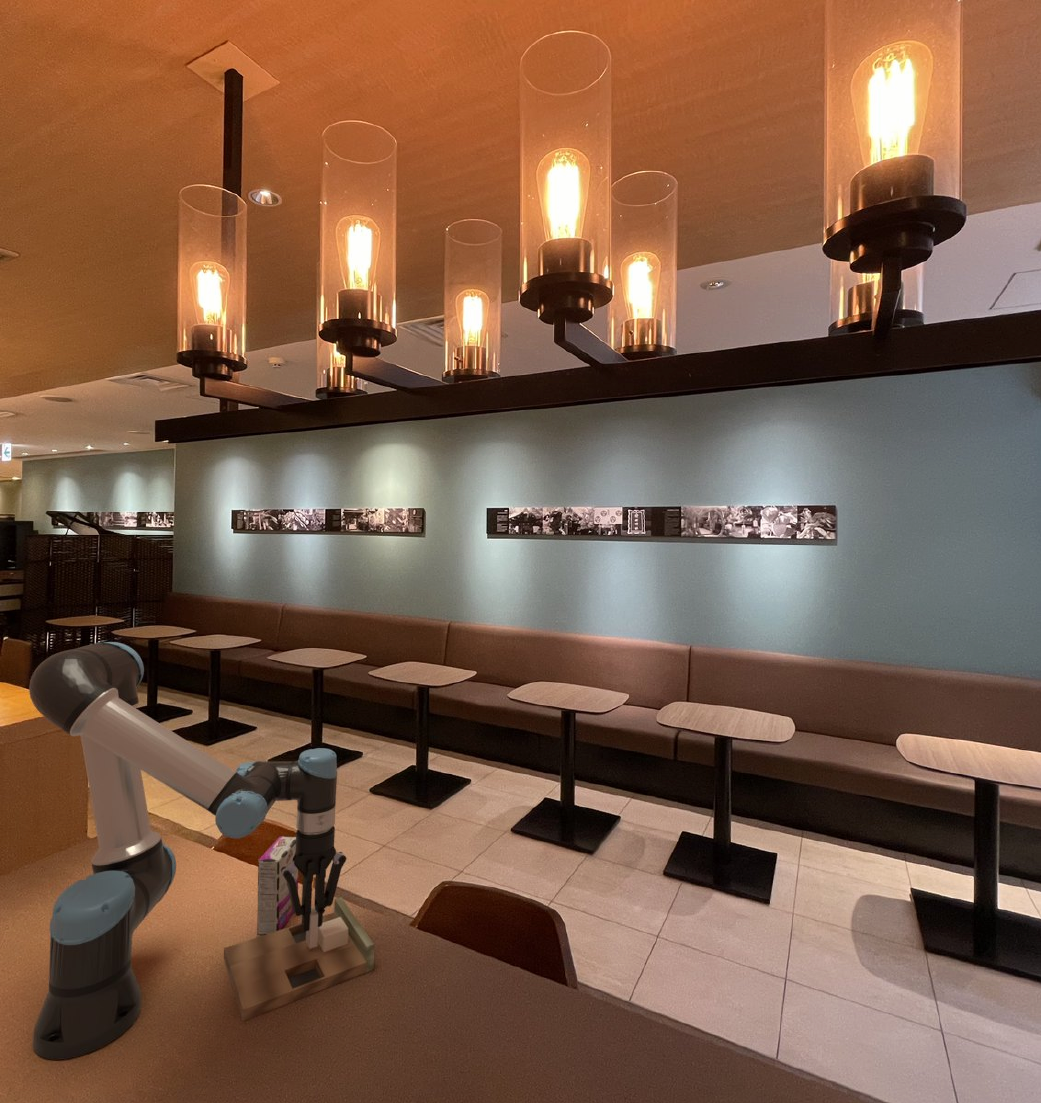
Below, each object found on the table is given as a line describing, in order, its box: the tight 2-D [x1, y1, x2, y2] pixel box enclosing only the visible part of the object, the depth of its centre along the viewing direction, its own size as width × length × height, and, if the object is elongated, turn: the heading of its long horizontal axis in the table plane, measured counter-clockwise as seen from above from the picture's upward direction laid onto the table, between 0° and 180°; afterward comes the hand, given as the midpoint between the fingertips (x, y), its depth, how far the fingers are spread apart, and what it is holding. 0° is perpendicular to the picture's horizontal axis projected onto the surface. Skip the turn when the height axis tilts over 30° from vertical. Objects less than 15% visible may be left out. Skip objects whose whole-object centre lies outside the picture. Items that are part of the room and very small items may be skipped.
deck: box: [223, 896, 375, 1022], centre depth 119 cm, size 24×20×5 cm
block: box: [317, 917, 348, 952], centre depth 123 cm, size 5×5×3 cm
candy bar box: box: [256, 836, 299, 936], centre depth 133 cm, size 11×5×16 cm, turn 179°
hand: (311, 944), depth 120 cm, fingers closed
